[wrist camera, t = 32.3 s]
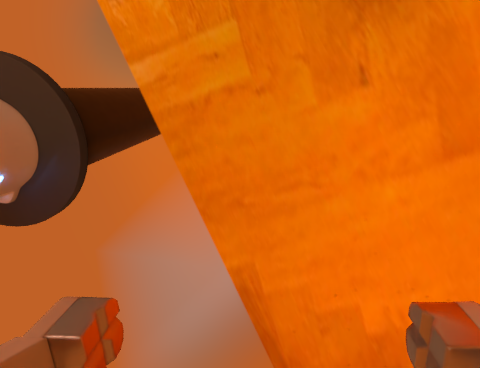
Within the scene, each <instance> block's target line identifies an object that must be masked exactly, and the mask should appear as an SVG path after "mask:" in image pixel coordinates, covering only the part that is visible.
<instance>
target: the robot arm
mask: <svg viewBox="0 0 480 368" xmlns="http://www.w3.org/2000/svg"><path fill="white" fill-rule="evenodd" d="M37 164H38V145H37V141H36V138H35V135H34V133H33V131H32V129H31V127H30V125H29V124H28V122H27V121H26V120H25V118H24V117H23V116H22V115H21V114H20V113H19V112H18V111H17V110H16V109H15V108H13V107H12V106H11V105H9V104H8V103H6V102H4V101H2V100H1V99H0V203H11V202H13V201H15V200H16V198H17V196H18V193H19V190H20V188H21V187H22V186H23V185H24V184H25V183H26V182H27V181H28V180H29V179H30V178H31V177H32V176H33V174H34V172H35V170H36V167H37ZM118 312H119V306H118V301H117V300H116V299H114V298H96V297H95V298H94V297H64V298H61V299H60V300H59V301H58V302H57V303H56V304H55V305H54V306H53V307H52V308H51V309H50V310H49V311H48V312H47V313H46V314H45V315H44V316H43V317H42V318H41V319H40V320H39V321H38V322H37V323H36V324H35V325H34V326H33V327H32V328H31V329H30V330H29V331H28V332H27V333H26V334H25V335H24V336H23V337H16V338H14V339H12V340H10V341H8V342H6V343H4V344H2V345H0V368H106V365H108V364H109V363H111V362H112V361H113V360H115V359H116V357H117V355H118V353H119V352H120V350H121V346H122V342H123V325H122V323H121V322H120V320H119V319H118V318H116V315H117V314H118ZM408 315H409V317H410V319H411V320H412V322H413V323H412V324H411V325H410V326H409V327H408V328H407V331H406V345H407V352H408V355H409V358H410V360H411V362H412V364H413V366H414V368H480V304H478V303H476V302H474V301H469V302H412V303H411V305H410V307H409V314H408Z"/></svg>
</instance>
